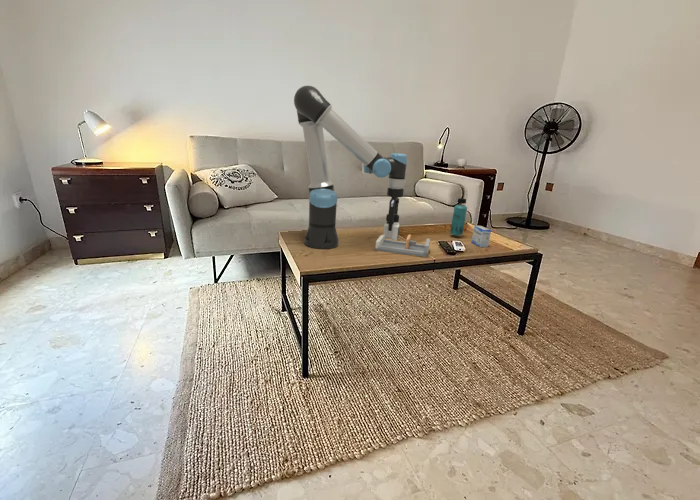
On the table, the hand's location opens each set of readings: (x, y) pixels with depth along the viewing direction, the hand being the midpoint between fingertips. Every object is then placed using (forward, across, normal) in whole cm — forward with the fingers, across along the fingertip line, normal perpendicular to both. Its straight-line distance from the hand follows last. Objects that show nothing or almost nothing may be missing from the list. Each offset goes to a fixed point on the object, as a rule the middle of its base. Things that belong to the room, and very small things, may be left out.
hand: (390, 234), depth 168 cm
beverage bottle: (+2, +20, -31) cm, 37 cm away
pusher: (+1, -16, -11) cm, 20 cm away
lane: (+2, -16, -8) cm, 18 cm away
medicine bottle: (+2, 0, 0) cm, 2 cm away
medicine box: (+2, +10, -42) cm, 43 cm away
